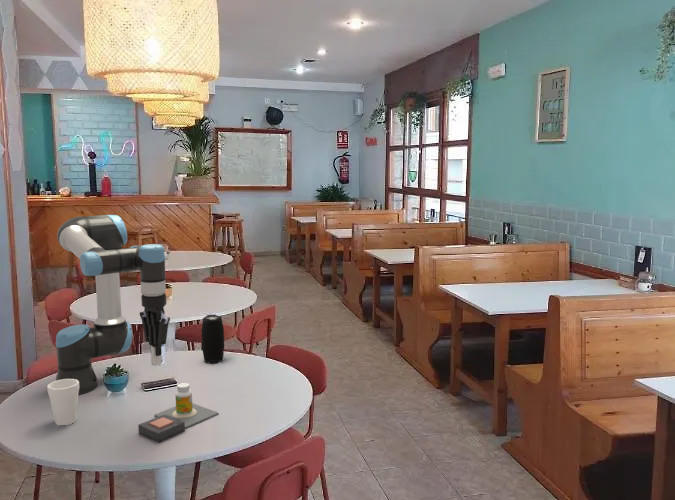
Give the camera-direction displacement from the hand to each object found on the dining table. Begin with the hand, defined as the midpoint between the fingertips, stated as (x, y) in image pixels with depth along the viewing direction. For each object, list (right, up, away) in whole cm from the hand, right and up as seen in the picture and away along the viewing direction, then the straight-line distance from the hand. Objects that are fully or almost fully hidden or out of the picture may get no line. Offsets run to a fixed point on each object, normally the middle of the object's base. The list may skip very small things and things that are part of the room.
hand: (156, 364), depth 195 cm
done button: (+3, -19, -4) cm, 20 cm away
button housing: (+3, -21, -4) cm, 21 cm away
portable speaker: (+6, -11, +63) cm, 64 cm away
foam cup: (-31, -20, +4) cm, 37 cm away
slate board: (+8, -19, +8) cm, 22 cm away
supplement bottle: (+7, -18, +9) cm, 21 cm away
